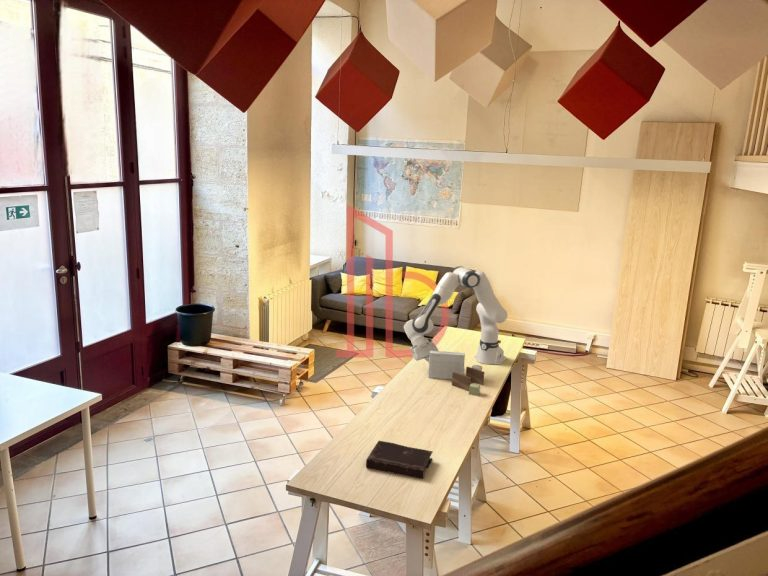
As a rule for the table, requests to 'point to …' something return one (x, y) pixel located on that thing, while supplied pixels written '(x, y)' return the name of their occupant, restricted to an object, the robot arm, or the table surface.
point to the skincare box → (445, 364)
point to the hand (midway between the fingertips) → (431, 362)
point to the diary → (399, 459)
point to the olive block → (474, 389)
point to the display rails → (467, 378)
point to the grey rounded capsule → (477, 367)
